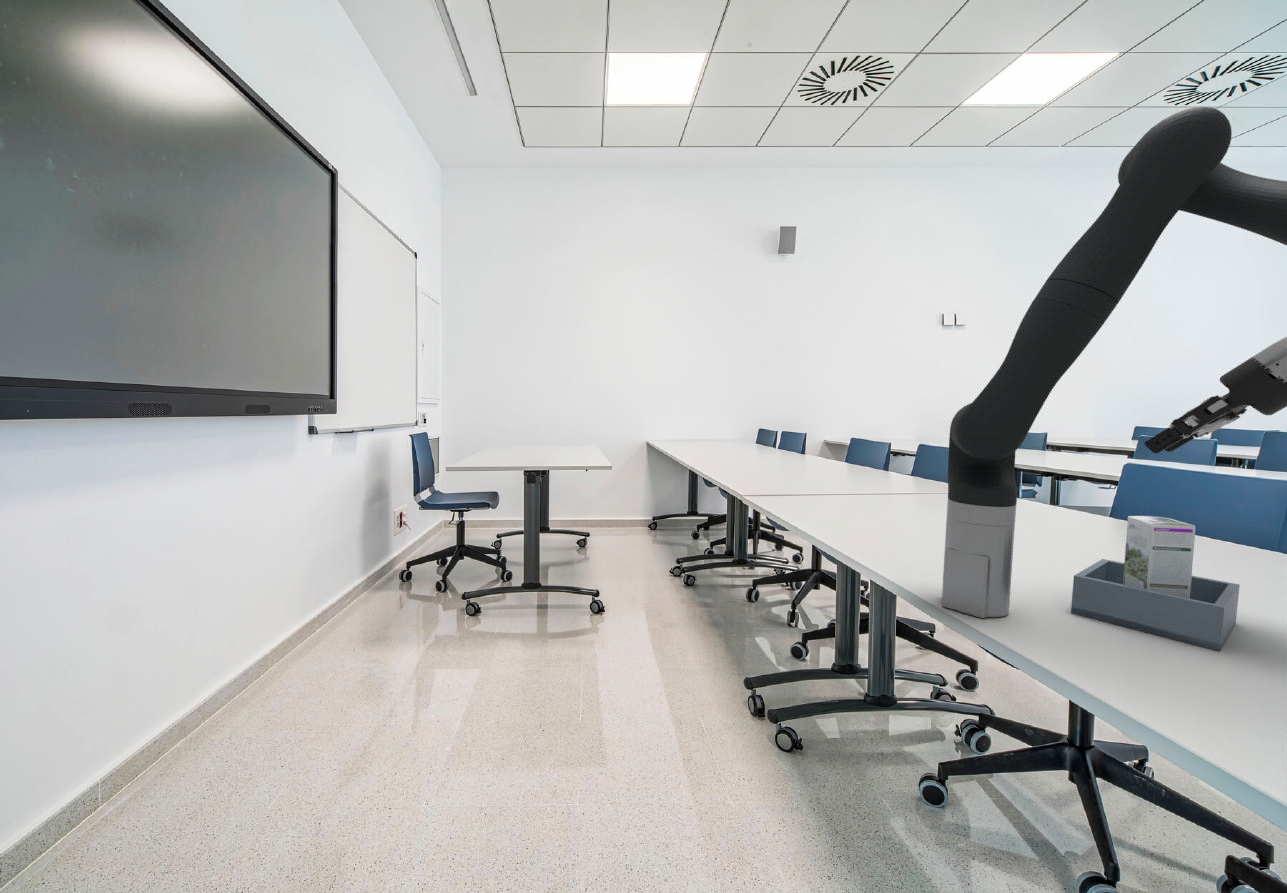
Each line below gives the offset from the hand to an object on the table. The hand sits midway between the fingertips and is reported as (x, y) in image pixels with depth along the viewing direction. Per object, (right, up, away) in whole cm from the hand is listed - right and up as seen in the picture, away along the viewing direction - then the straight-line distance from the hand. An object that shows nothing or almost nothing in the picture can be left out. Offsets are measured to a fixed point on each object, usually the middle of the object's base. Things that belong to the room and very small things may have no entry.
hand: (1156, 448), depth 83 cm
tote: (-2, -26, -1) cm, 26 cm away
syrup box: (-2, -26, -1) cm, 26 cm away
